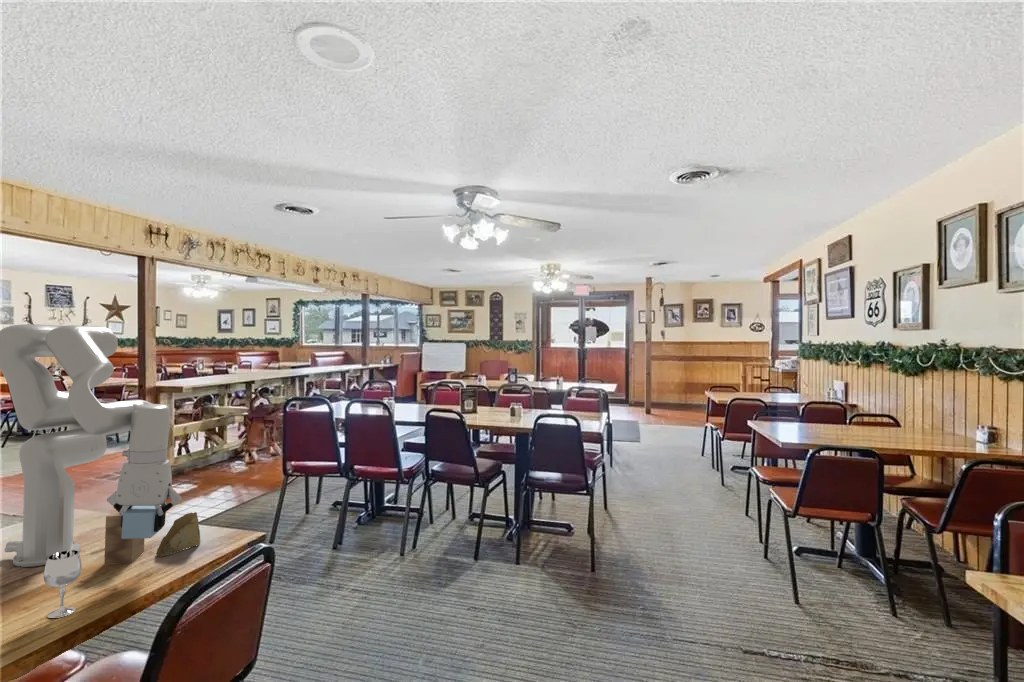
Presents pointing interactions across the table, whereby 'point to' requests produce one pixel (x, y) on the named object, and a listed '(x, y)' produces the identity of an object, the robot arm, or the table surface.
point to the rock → (181, 535)
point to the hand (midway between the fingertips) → (142, 529)
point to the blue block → (139, 522)
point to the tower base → (123, 550)
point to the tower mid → (113, 527)
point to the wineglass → (62, 576)
